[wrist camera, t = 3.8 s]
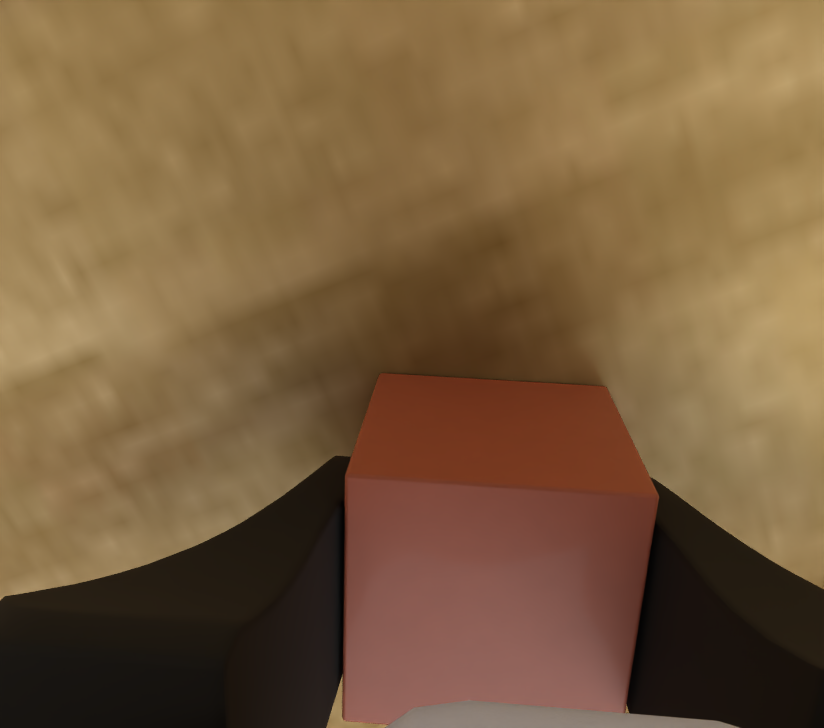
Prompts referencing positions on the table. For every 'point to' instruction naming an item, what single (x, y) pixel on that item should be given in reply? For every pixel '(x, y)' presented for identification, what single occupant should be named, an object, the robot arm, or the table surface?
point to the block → (492, 548)
